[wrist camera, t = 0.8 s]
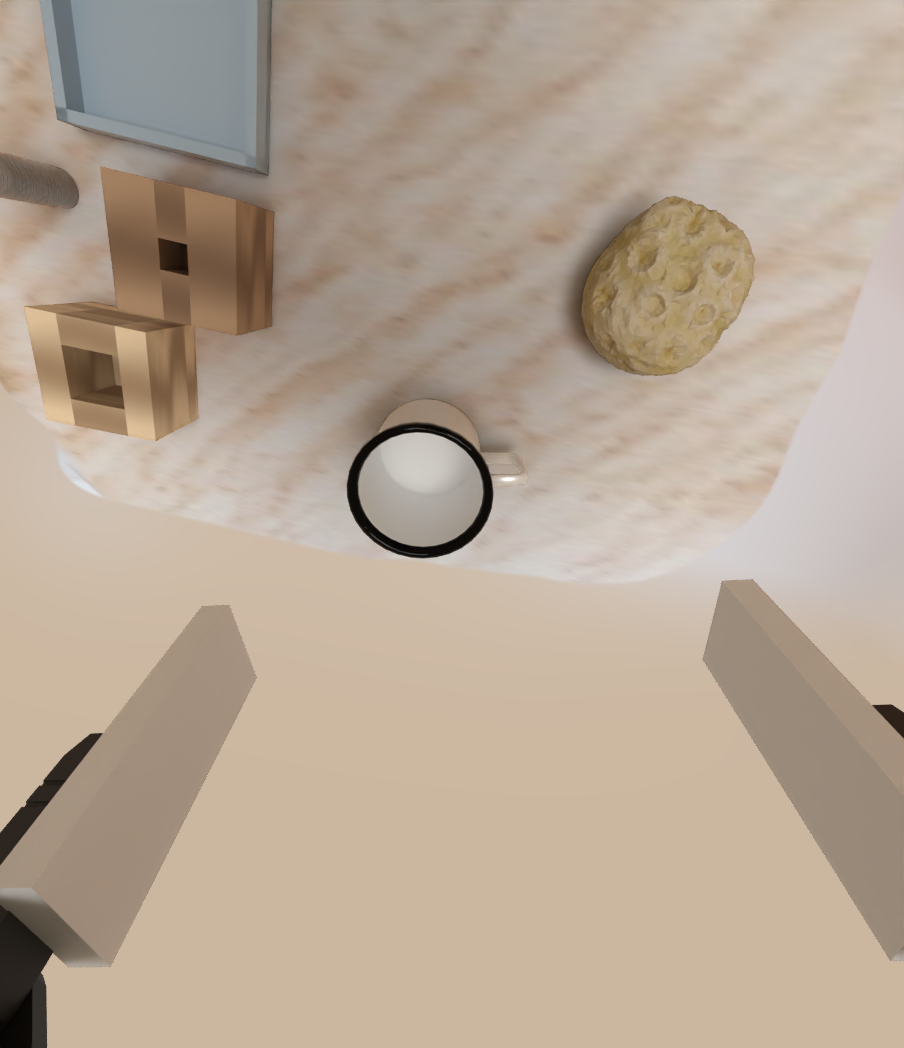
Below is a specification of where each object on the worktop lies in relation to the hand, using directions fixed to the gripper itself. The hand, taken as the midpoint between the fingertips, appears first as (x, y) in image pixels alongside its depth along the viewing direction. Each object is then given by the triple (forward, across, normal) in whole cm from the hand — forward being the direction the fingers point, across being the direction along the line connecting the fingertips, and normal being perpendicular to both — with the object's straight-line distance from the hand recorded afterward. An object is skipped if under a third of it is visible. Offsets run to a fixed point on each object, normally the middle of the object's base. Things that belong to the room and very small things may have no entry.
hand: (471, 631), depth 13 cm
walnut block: (+26, -16, +11) cm, 32 cm away
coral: (+26, +12, +7) cm, 30 cm away
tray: (+26, -15, +22) cm, 37 cm away
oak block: (+26, -24, +4) cm, 35 cm away
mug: (+26, -2, -4) cm, 27 cm away
